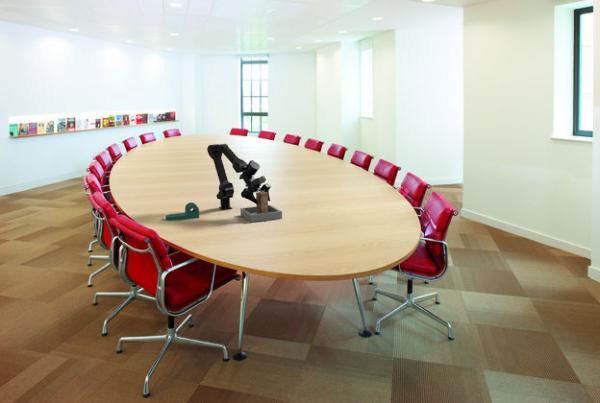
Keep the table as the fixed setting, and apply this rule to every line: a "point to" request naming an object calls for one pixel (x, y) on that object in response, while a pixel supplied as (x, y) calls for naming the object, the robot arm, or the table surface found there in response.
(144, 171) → the table surface
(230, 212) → the table surface
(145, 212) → the table surface
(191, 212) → the bracket
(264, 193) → the brown tall block
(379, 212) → the table surface
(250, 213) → the box
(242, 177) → the robot arm
